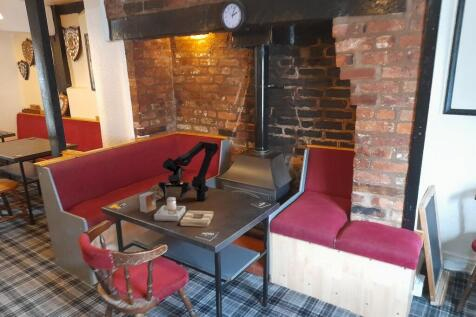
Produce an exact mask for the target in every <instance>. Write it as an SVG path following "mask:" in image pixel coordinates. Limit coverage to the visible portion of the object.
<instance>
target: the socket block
mask: <svg viewBox="0 0 476 317" xmlns="http://www.w3.org/2000/svg"><path fill="white" fill-rule="evenodd" d="M213 217H214V211H209V210H207V211H206V210H187V211H186V212H185V213H184V215H183V216H182V217H181V219H180V220H179V221H180V226H181V227H183V226H185V227H207V228H208V227H209V225H210V223H211V220H212V219H213Z"/></svg>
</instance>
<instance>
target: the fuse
mask: <svg viewBox="0 0 476 317" xmlns="http://www.w3.org/2000/svg"><path fill="white" fill-rule="evenodd" d="M176 199H177V198H176V197H175V196H167V197H166V206H167V210H168V215H177V211H176V206H177V200H176Z"/></svg>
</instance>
